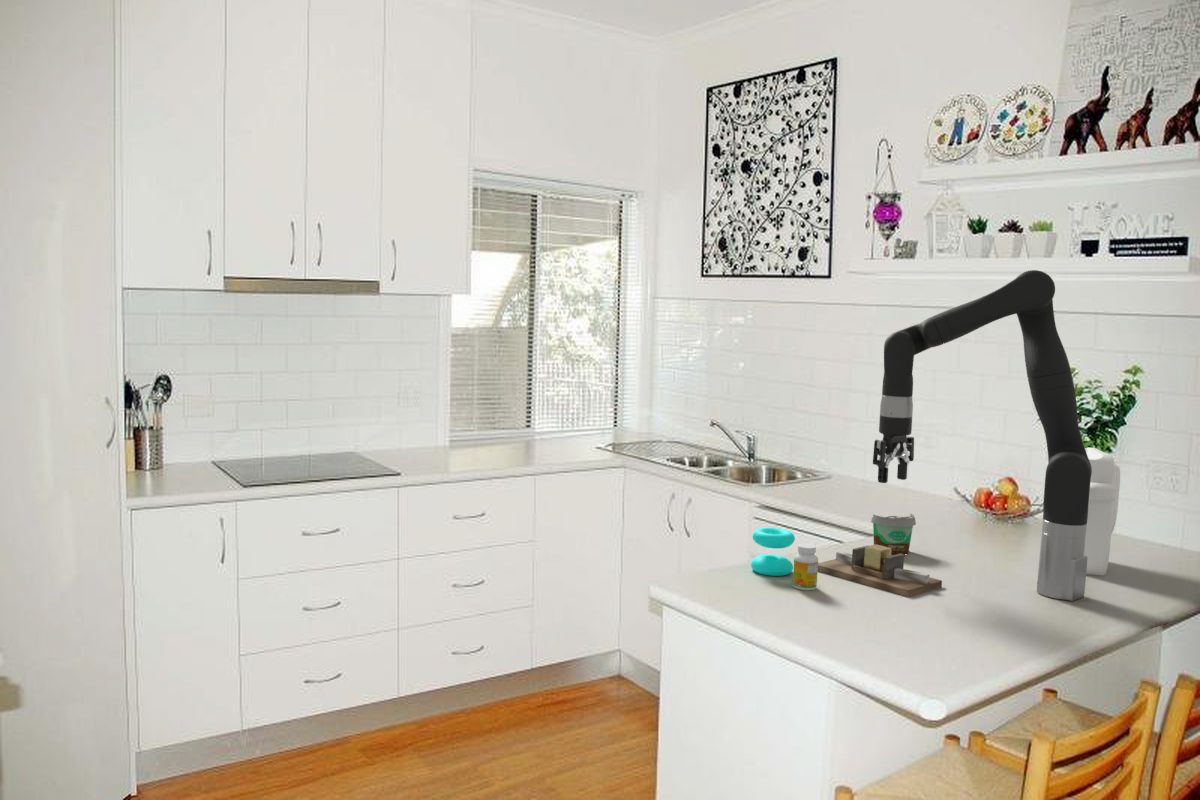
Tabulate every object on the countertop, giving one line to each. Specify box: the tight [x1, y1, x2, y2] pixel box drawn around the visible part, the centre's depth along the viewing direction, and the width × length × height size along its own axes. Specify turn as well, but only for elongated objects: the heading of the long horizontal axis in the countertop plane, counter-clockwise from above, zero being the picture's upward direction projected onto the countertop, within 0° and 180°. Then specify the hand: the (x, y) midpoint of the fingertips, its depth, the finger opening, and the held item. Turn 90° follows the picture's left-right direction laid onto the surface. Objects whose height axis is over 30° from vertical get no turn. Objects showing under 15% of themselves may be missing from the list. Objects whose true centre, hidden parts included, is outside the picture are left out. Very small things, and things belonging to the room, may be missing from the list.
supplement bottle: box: [792, 543, 819, 591], centre depth 228 cm, size 5×5×10 cm
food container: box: [870, 513, 917, 556], centre depth 262 cm, size 12×6×10 cm, turn 105°
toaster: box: [1084, 446, 1121, 576], centre depth 256 cm, size 27×11×30 cm, turn 168°
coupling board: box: [817, 545, 943, 598], centre depth 238 cm, size 26×14×6 cm, turn 40°
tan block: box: [864, 544, 892, 573], centre depth 238 cm, size 6×4×6 cm
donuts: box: [750, 527, 796, 577], centre depth 240 cm, size 10×10×10 cm
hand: (892, 480), depth 242 cm, fingers open, 8 cm apart
